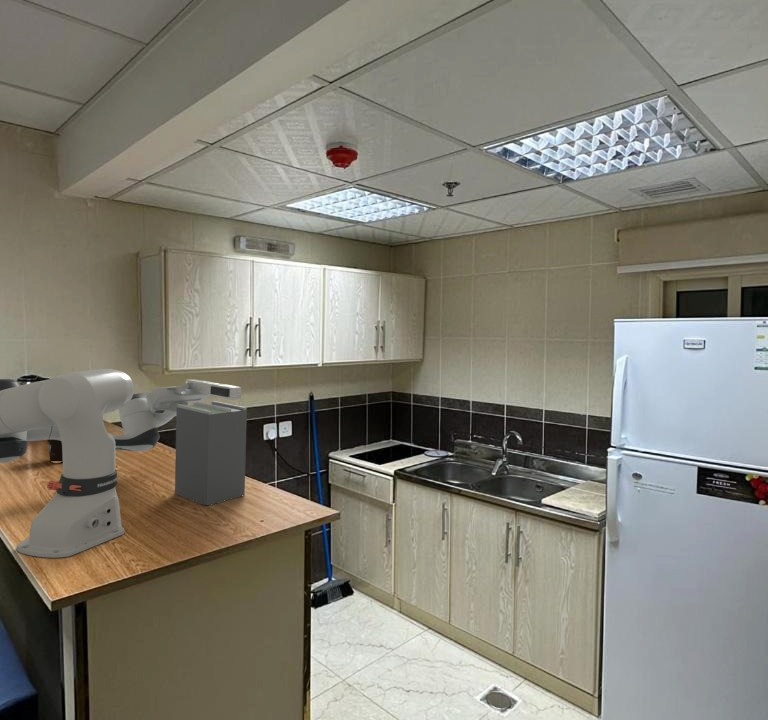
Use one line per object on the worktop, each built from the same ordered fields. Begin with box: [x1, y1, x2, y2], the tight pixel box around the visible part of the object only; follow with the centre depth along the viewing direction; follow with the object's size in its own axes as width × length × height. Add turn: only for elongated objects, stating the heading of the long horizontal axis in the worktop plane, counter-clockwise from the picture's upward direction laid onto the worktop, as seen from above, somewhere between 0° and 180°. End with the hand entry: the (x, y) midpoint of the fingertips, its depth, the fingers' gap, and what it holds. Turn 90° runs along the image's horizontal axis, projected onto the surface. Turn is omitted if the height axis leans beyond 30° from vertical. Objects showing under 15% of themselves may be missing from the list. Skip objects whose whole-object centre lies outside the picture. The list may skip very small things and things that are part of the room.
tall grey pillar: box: [174, 400, 248, 506], centre depth 155 cm, size 16×13×27 cm
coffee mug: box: [47, 439, 63, 461], centre depth 186 cm, size 12×9×10 cm
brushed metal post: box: [184, 378, 242, 401], centre depth 160 cm, size 24×4×4 cm, turn 53°
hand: (194, 384), depth 166 cm, fingers closed on brushed metal post, 3 cm apart
